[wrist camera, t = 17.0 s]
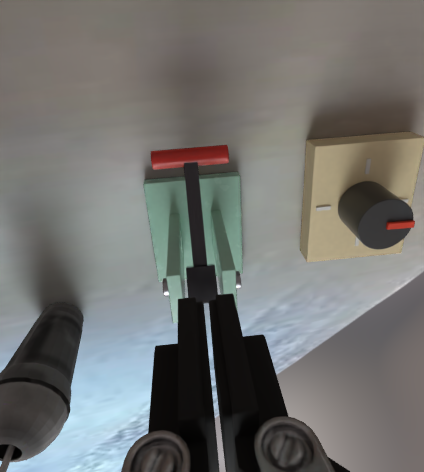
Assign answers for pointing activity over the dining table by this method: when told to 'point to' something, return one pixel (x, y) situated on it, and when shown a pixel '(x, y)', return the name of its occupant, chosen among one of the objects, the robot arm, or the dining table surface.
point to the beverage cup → (39, 384)
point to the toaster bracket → (178, 231)
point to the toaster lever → (195, 211)
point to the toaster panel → (346, 175)
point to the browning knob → (375, 215)
